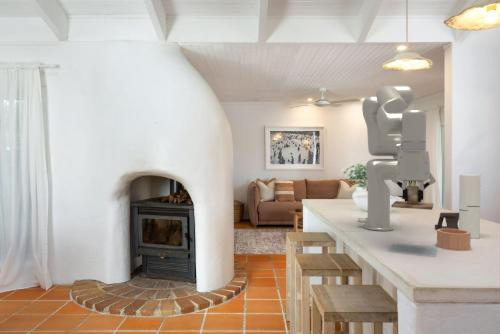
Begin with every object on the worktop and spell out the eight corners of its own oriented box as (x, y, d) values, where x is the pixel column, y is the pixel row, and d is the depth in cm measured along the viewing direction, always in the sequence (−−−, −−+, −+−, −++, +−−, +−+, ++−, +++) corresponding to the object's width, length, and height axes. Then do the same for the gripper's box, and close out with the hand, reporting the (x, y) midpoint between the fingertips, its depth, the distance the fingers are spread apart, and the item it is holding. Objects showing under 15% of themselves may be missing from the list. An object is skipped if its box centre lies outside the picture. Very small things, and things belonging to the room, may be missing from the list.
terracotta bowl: (436, 249, 121) (436, 232, 121) (437, 243, 129) (437, 227, 129) (470, 253, 116) (471, 235, 116) (469, 247, 124) (469, 230, 124)
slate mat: (387, 252, 116) (387, 251, 116) (393, 244, 128) (393, 243, 128) (435, 258, 109) (435, 257, 109) (436, 249, 121) (436, 247, 121)
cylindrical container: (480, 239, 137) (480, 175, 137) (458, 237, 141) (459, 175, 141) (479, 236, 143) (480, 174, 143) (459, 234, 147) (459, 174, 147)
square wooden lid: (391, 207, 116) (391, 186, 116) (396, 203, 127) (396, 184, 127) (432, 209, 111) (432, 188, 110) (433, 205, 121) (433, 185, 121)
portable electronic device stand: (454, 229, 158) (454, 210, 158) (464, 232, 150) (464, 213, 150) (434, 229, 158) (434, 210, 158) (443, 232, 151) (444, 213, 150)
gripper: (385, 147, 119) (385, 201, 120) (441, 146, 111) (440, 204, 111) (388, 148, 126) (388, 199, 126) (441, 147, 118) (440, 202, 118)
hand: (412, 201), depth 119 cm, fingers closed on square wooden lid, 3 cm apart
